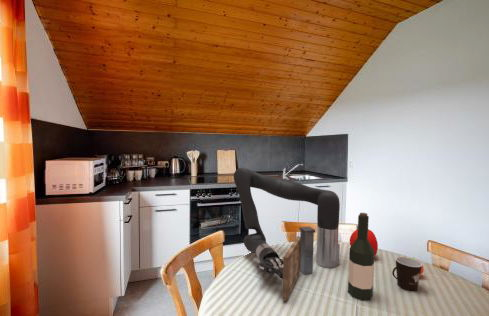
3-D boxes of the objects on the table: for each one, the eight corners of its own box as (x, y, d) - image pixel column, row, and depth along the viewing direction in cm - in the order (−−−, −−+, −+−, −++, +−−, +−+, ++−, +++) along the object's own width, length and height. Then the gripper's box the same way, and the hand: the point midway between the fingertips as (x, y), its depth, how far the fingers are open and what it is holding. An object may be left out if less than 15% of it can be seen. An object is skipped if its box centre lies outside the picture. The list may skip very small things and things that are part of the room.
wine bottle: (362, 303, 86) (366, 218, 85) (342, 290, 94) (346, 211, 92) (377, 297, 90) (381, 215, 89) (358, 285, 98) (361, 209, 96)
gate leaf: (296, 271, 106) (297, 236, 105) (300, 271, 105) (301, 236, 105) (282, 299, 87) (283, 256, 86) (286, 300, 86) (287, 257, 85)
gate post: (307, 268, 110) (309, 226, 109) (313, 274, 106) (315, 230, 104) (298, 270, 109) (299, 227, 108) (303, 275, 104) (304, 230, 103)
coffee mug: (412, 281, 101) (413, 257, 101) (425, 294, 93) (427, 267, 92) (382, 279, 102) (383, 255, 102) (392, 291, 94) (394, 265, 93)
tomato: (380, 257, 123) (382, 228, 122) (372, 264, 115) (373, 234, 114) (354, 249, 132) (355, 222, 131) (345, 255, 124) (346, 227, 123)
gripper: (252, 248, 104) (267, 268, 87) (281, 245, 107) (301, 264, 90) (251, 266, 104) (266, 289, 87) (281, 262, 108) (300, 284, 91)
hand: (284, 276), depth 89 cm, fingers closed
